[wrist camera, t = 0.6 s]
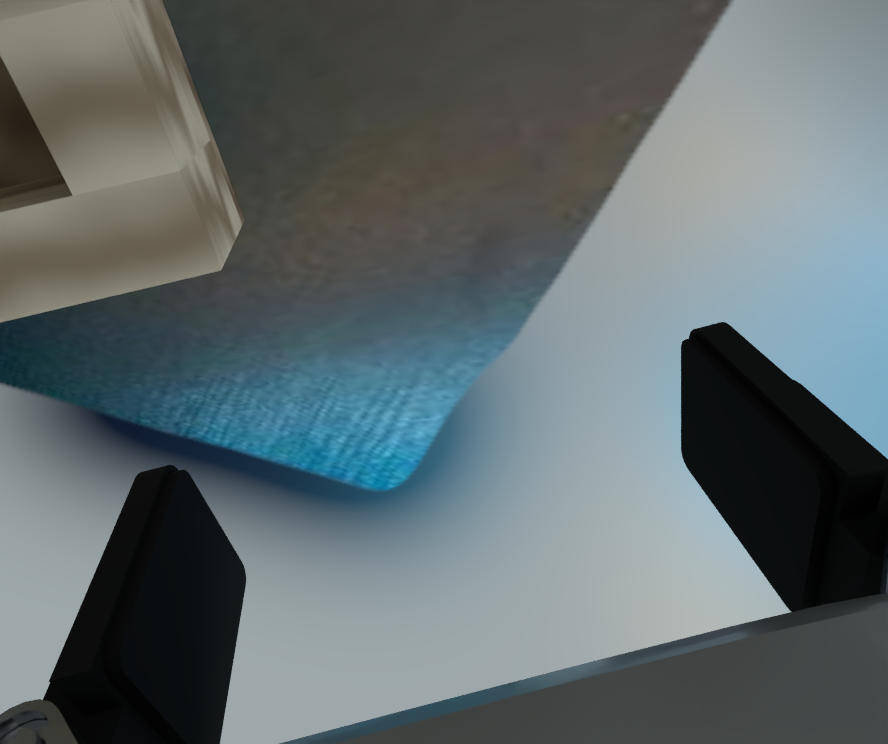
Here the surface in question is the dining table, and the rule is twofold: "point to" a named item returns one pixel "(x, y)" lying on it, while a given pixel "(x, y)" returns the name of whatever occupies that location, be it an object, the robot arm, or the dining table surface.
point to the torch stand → (102, 157)
